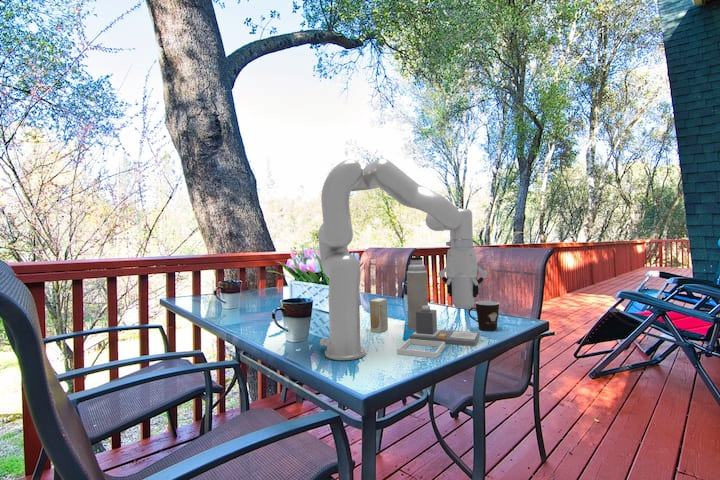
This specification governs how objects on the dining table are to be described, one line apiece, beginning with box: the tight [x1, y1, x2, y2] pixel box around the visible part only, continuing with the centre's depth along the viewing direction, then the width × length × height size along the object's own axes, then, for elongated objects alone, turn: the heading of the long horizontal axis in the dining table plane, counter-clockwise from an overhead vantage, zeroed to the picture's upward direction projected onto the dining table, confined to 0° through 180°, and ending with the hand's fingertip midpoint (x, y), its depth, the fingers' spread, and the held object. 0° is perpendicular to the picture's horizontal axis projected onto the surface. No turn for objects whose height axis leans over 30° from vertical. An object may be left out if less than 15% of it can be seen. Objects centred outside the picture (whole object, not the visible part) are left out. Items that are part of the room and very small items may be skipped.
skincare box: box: [369, 297, 389, 334], centre depth 144 cm, size 6×4×12 cm
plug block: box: [415, 304, 438, 335], centre depth 134 cm, size 6×6×9 cm
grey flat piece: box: [409, 329, 481, 347], centre depth 131 cm, size 22×12×2 cm, turn 65°
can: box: [451, 272, 476, 309], centre depth 128 cm, size 8×8×12 cm
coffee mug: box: [468, 300, 500, 332], centre depth 143 cm, size 12×9×10 cm
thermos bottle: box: [406, 256, 429, 331], centre depth 147 cm, size 8×8×28 cm
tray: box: [396, 338, 446, 359], centre depth 118 cm, size 12×12×2 cm
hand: (463, 296), depth 128 cm, fingers closed on can, 7 cm apart
